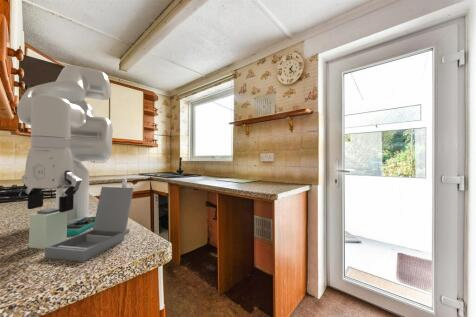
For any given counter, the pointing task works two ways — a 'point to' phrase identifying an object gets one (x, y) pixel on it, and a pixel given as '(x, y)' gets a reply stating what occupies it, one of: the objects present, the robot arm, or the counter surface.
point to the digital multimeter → (80, 226)
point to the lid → (113, 209)
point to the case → (84, 245)
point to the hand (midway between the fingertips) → (50, 209)
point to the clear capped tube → (124, 185)
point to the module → (47, 228)
